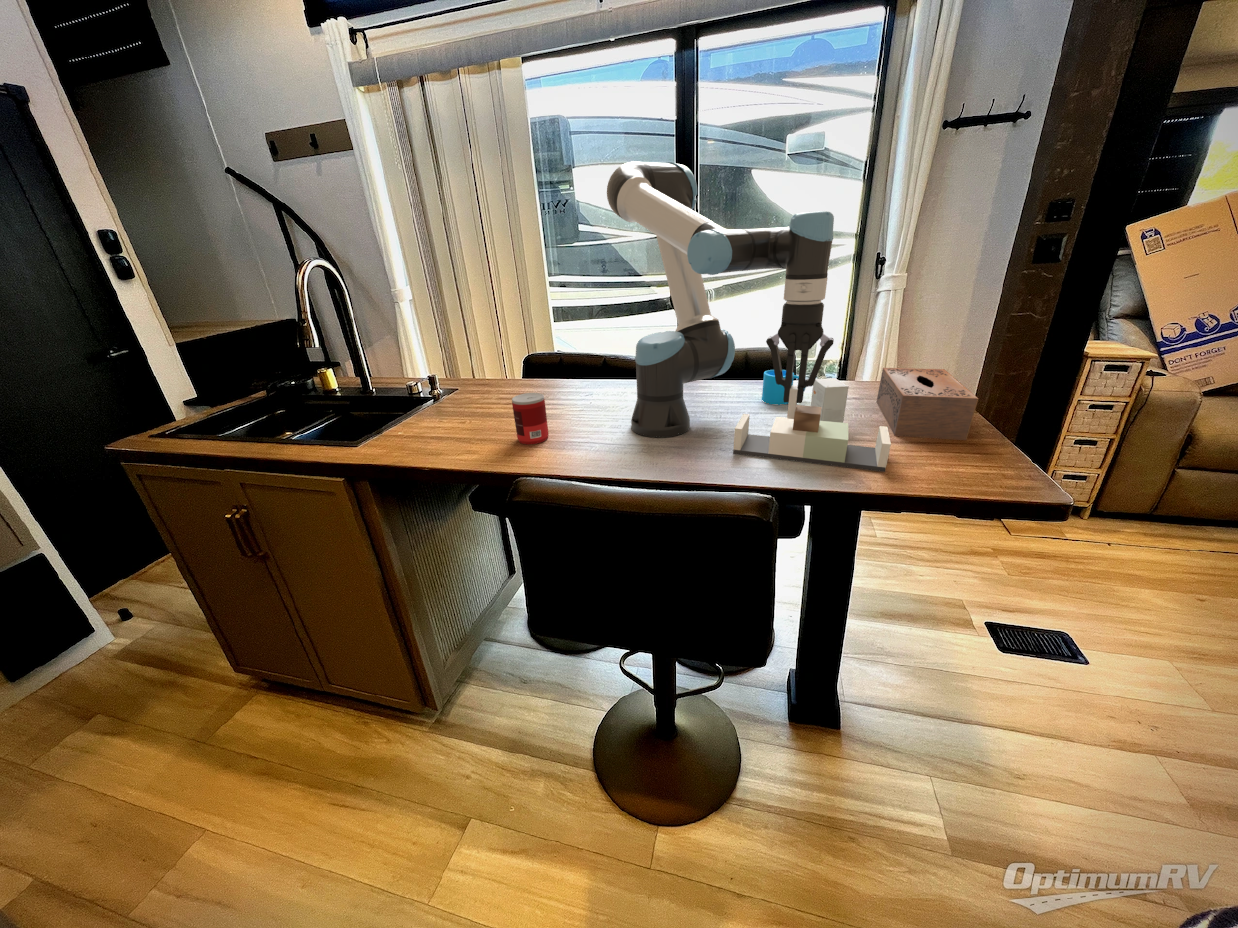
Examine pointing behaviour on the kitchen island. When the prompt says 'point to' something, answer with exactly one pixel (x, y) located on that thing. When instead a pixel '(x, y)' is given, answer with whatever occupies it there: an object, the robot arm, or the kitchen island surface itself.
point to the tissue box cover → (925, 403)
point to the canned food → (530, 418)
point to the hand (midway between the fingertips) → (791, 416)
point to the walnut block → (807, 418)
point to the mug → (774, 388)
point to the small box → (830, 399)
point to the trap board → (850, 459)
